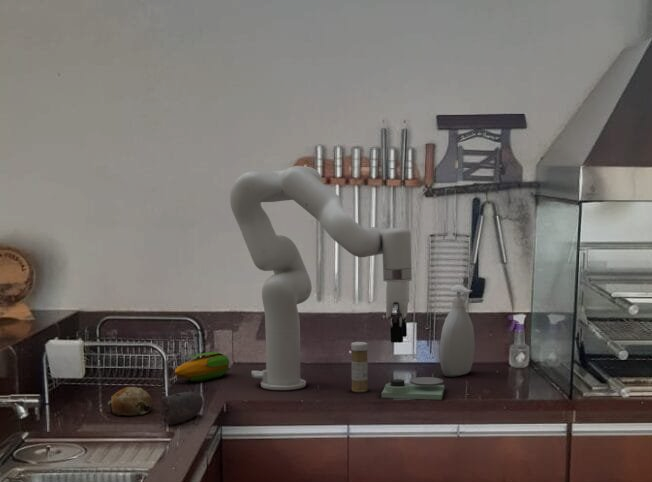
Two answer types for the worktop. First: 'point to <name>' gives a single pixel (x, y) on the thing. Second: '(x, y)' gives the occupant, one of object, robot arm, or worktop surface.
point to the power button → (397, 382)
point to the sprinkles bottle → (359, 366)
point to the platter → (426, 381)
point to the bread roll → (131, 402)
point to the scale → (413, 391)
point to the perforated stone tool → (180, 407)
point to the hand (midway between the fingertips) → (398, 339)
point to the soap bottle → (457, 338)
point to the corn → (204, 367)
